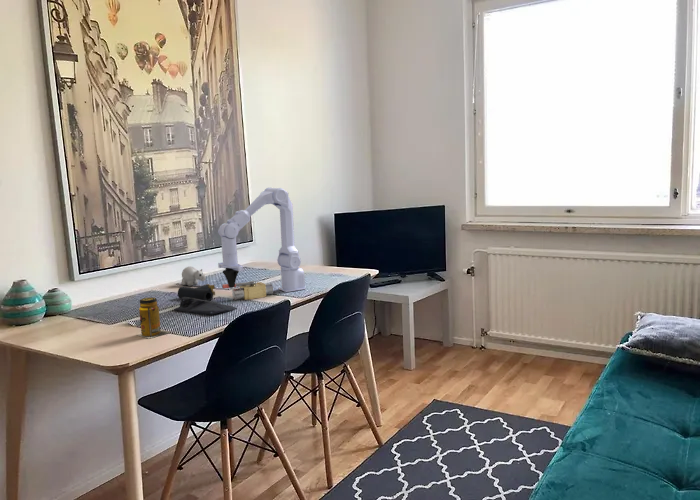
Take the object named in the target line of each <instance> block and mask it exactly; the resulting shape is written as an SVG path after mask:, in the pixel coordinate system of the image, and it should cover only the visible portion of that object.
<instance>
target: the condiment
mask: <svg viewBox="0 0 700 500" xmlns="http://www.w3.org/2000/svg"><path fill="white" fill-rule="evenodd" d="M138 310H139V311H138V312H139V320H140V321H139V322H140V332H141V333H139V334H137V336H138V337H141V338H145V339H153V338H157V337H159V336H162V335H166V334H168V333H170V331H167V330H164V329H161V319H160V307H159V306H158V302H157V297H151V296H150V297H143V298H141V299H139V308H138Z"/></svg>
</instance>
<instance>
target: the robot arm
mask: <svg viewBox="0 0 700 500" xmlns="http://www.w3.org/2000/svg"><path fill="white" fill-rule="evenodd" d="M289 196H290V195H289V192H288V191H287V190H286V189H284V188H282V187H266V188H265V189H264V190H262V191H261V192H260V194H259V195H258V196H257V197H256V198H255V199H254V200H253V201H252V202H251V203H250V204H248V206H247V207H246V208H245V209H240V210H237V211H235V212H234V215H233V216H232V217H230V218H228V219H227V220H226V222H225V223H222V224H220V225H219V228H218V230H217V234H218V235H219V236H220V238H221V239H220V240H221V241H220V242H221V251H222V253H221V254H222V255H221V256H222V262H218V264H217V265H218V268H219V269H225V270H222V273H223V275H224V276H225V278H226V280H227V284H228V285H229V288H228V289H231V288H236V287H235V284H236V280H237V278H238V275H239V272H244V266H243V265H241V264H239V263H238V246H237V237H238V235H239V232H240V231H241V230H242V229H243V228H244V227H245V226H246V225H247V224H248V223H249V222H251V217H252V216H253V215H254V214H255V213H256V212H258V211H259V210H260V209H261V208H263V207H264V206H265V205H273V206H275V207H276V208H277V209H278V210H279V219H280V220H279V222H280V223H279V224H280V240H281V242H280V243H281V244H280V245H281V246H280V248H279V250H278V256H277V259H276V260H277V264H278V266H279V267H280V274H281V275H280V277H281V287H278V289H279V290H280V291H283V292H284V293H289V292H295V291H302V290H306V288H307V287H306V283H305V281H306V280H305V271H304V270H303V268H302V267H301V264H302V260H301V257H300V253H299V250H298V249H297V248H296V245H295V231H294V229H295V228H294V206H293V202H292V200H291V198H290V197H289Z"/></svg>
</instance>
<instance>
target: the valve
mask: <svg viewBox="0 0 700 500" xmlns="http://www.w3.org/2000/svg"><path fill="white" fill-rule="evenodd" d="M231 293H232V294H231V295H232V298H233V300H235V301H237V300H242V299H243V300H253V299H261V298H265V297H266V298H267V296H270V295H273V294H274V287H273V284H272V283H267V284H266V283H264V282H261V281H258V282H257V281H256V285H246V286H239V287H236V288H233V289H232V291H231Z"/></svg>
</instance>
